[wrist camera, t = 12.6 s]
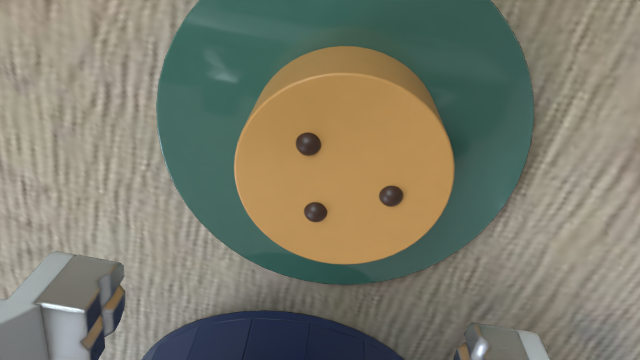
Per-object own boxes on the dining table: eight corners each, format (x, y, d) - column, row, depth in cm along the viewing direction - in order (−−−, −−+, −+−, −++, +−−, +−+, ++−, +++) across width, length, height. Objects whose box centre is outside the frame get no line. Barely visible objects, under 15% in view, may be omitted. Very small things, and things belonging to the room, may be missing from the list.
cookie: (381, 4, 13) (388, 26, 10) (470, 168, 15) (493, 219, 13) (213, 110, 15) (185, 150, 12) (316, 241, 17) (310, 297, 15)
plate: (420, -170, 11) (424, -175, 11) (578, 188, 16) (588, 201, 16) (89, 79, 15) (77, 87, 15) (295, 310, 20) (293, 324, 19)
